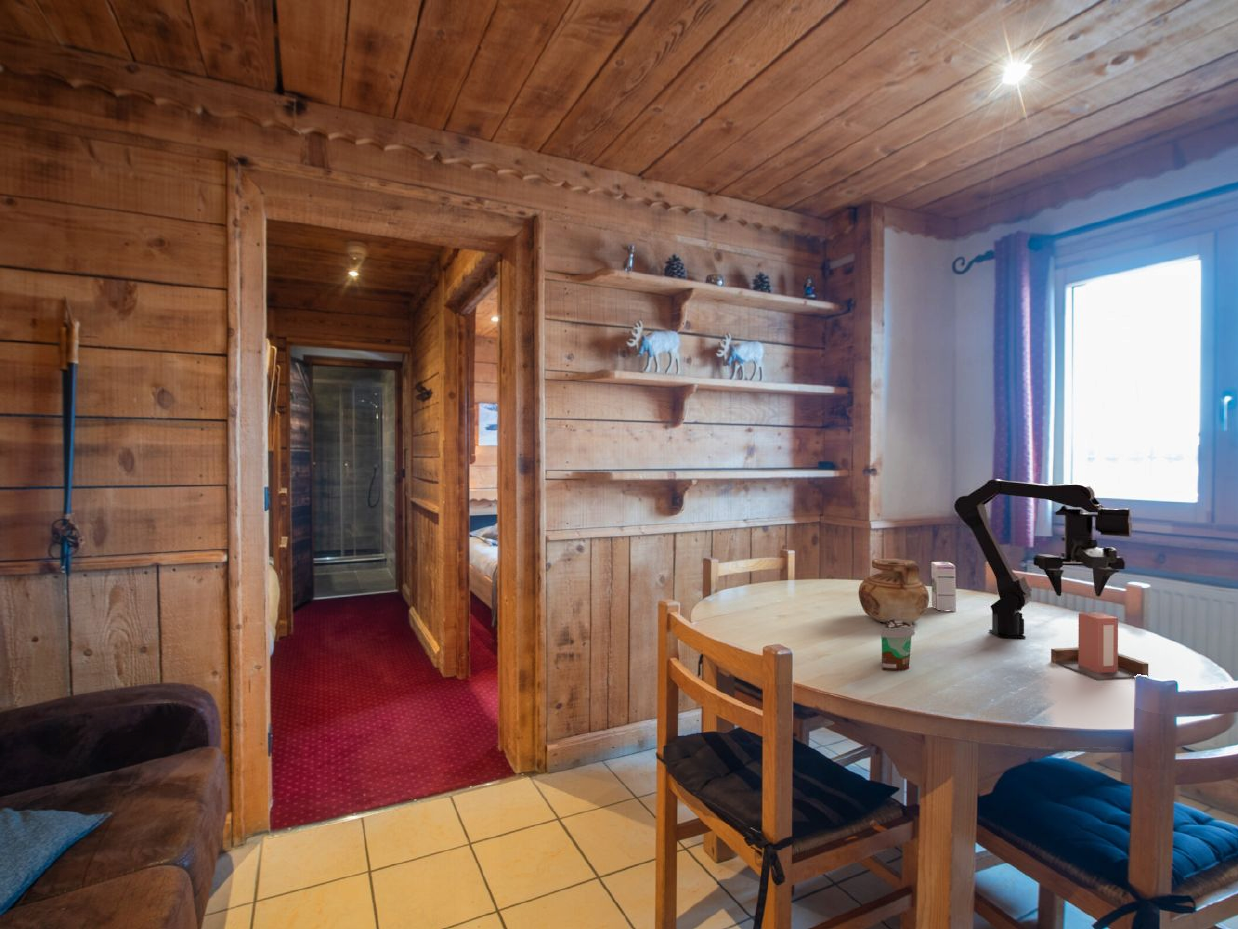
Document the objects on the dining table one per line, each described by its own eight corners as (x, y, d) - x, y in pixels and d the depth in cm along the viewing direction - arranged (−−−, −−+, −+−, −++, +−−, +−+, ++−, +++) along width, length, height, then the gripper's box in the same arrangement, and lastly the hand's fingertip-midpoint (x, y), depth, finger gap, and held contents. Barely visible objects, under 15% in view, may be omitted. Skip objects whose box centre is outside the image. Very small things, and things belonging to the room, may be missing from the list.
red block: (1078, 665, 145) (1078, 613, 144) (1097, 664, 145) (1098, 612, 145) (1098, 673, 140) (1098, 619, 139) (1118, 672, 140) (1118, 618, 140)
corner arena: (1096, 680, 136) (1097, 666, 136) (1051, 661, 149) (1051, 648, 149) (1148, 677, 138) (1148, 663, 138) (1098, 659, 150) (1098, 646, 150)
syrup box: (956, 612, 195) (956, 565, 195) (936, 611, 196) (936, 564, 196) (950, 607, 200) (950, 561, 200) (930, 606, 202) (930, 561, 201)
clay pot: (840, 610, 186) (855, 545, 191) (873, 624, 197) (886, 562, 201) (903, 623, 171) (917, 552, 175) (935, 638, 181) (947, 570, 186)
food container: (910, 677, 139) (910, 631, 139) (881, 672, 143) (881, 627, 142) (918, 661, 150) (918, 619, 150) (890, 656, 153) (890, 615, 153)
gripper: (1058, 538, 151) (1058, 603, 151) (1142, 538, 150) (1141, 604, 150) (1032, 532, 162) (1032, 593, 163) (1109, 532, 161) (1109, 593, 161)
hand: (1078, 596), depth 159 cm, fingers open, 9 cm apart
